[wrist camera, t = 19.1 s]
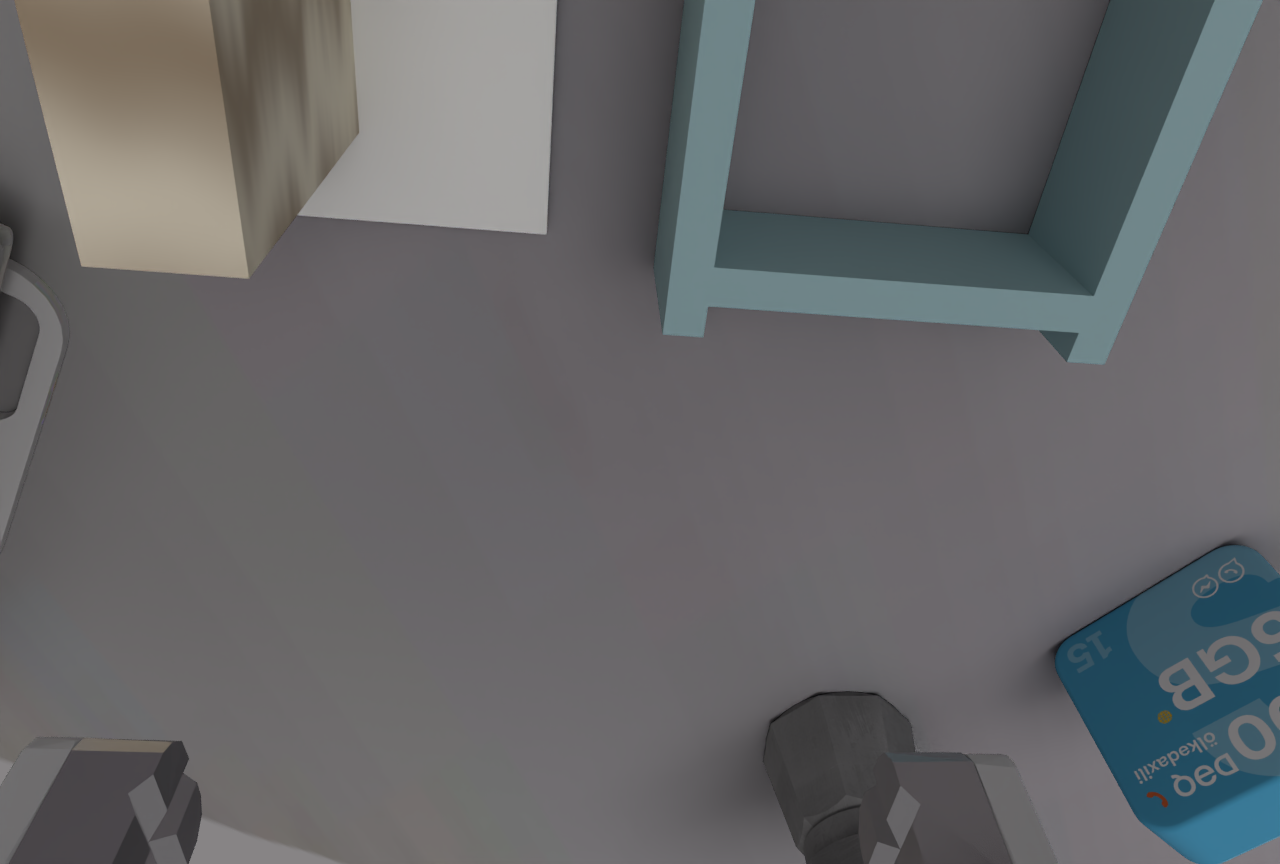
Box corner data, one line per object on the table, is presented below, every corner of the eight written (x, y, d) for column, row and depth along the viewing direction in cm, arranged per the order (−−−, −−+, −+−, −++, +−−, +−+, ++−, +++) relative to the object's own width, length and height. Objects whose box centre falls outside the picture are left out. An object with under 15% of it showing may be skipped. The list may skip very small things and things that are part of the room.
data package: (1239, 531, 48) (1409, 716, 38) (1276, 574, 50) (1447, 761, 40) (1043, 650, 52) (1149, 844, 42) (1083, 685, 54) (1194, 878, 44)
